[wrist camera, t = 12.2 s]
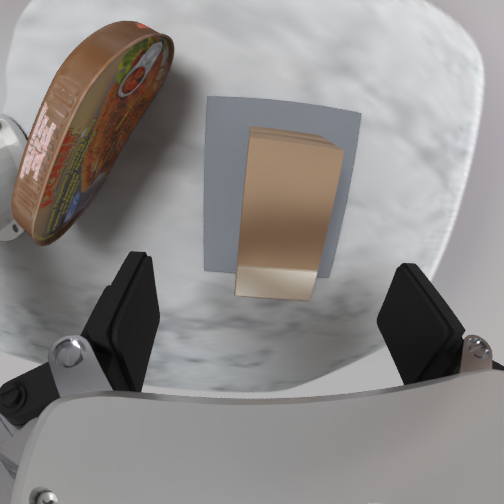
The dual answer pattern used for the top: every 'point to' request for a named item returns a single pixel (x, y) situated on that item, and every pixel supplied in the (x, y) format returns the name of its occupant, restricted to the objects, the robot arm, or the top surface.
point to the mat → (235, 157)
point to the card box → (285, 212)
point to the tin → (86, 124)
